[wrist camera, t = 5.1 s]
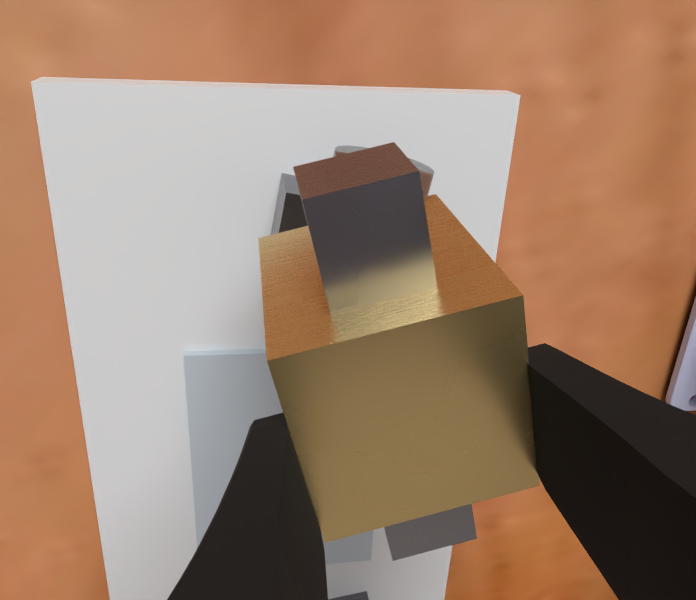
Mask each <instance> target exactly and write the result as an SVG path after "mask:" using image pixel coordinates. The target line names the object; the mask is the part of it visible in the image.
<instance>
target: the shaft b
mask: <svg viewBox="0 0 696 600" xmlns="http://www.w3.org/2000/svg"><path fill="white" fill-rule="evenodd" d="M328 600H369V599H368V594H367V591H365V592H360V593H355V594H351V595H346V596H342V597H337V598H332V599H328Z"/></svg>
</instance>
